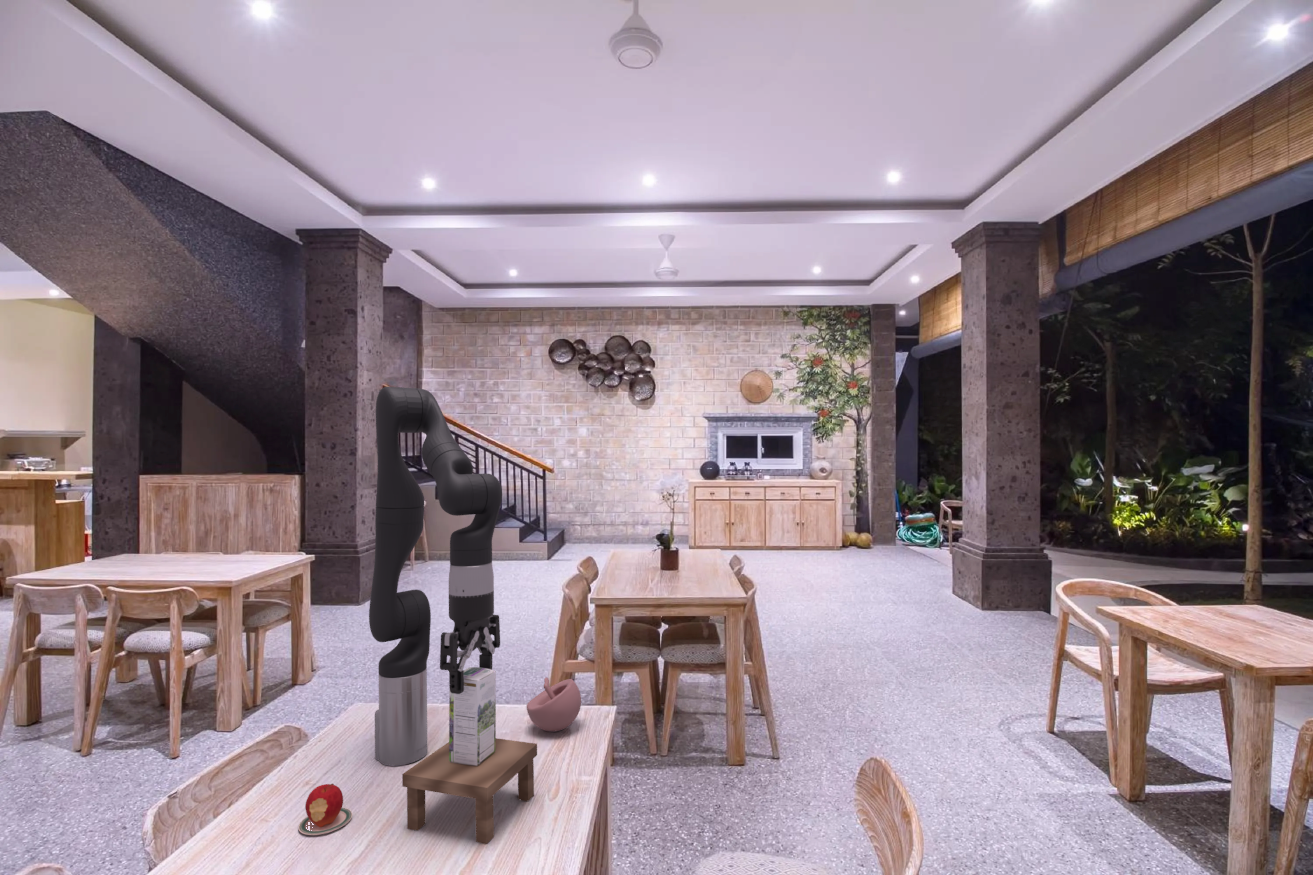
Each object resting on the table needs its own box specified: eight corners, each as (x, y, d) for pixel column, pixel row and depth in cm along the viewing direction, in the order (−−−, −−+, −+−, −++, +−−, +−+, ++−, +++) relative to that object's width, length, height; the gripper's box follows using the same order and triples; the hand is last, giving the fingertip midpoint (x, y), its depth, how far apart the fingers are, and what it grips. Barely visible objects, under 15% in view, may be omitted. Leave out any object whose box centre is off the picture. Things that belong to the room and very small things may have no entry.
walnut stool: (402, 829, 105) (402, 773, 106) (461, 782, 120) (460, 733, 121) (487, 846, 100) (487, 787, 101) (537, 794, 115) (537, 743, 116)
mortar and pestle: (531, 719, 149) (530, 669, 149) (583, 717, 150) (582, 667, 150) (522, 742, 137) (522, 687, 137) (579, 739, 138) (578, 685, 138)
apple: (358, 824, 107) (358, 784, 108) (305, 843, 102) (305, 802, 102) (344, 805, 113) (343, 767, 114) (293, 823, 108) (293, 783, 108)
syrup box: (468, 747, 115) (467, 665, 115) (497, 752, 113) (496, 668, 113) (448, 762, 109) (447, 676, 110) (478, 767, 107) (477, 679, 108)
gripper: (465, 599, 103) (466, 701, 103) (512, 582, 117) (512, 672, 117) (426, 597, 106) (426, 696, 105) (476, 580, 119) (477, 668, 119)
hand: (471, 683), depth 111 cm, fingers open, 8 cm apart
